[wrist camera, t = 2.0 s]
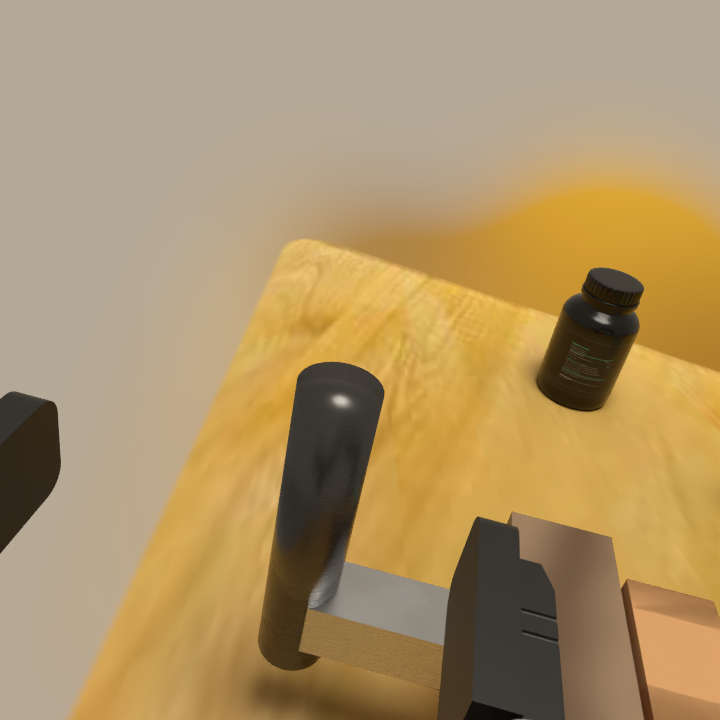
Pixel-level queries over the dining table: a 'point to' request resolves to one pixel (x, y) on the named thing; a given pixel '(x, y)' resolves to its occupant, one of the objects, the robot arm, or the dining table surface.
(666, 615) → the spacer
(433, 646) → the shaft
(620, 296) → the supplement bottle
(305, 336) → the dining table surface
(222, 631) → the dining table surface
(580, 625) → the bearing block
